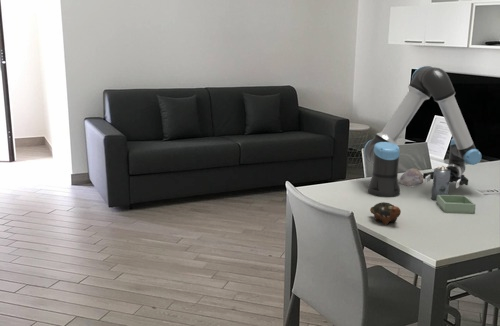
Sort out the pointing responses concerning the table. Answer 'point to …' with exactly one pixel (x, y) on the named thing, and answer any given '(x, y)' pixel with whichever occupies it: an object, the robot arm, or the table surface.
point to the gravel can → (440, 182)
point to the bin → (455, 204)
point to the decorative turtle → (385, 212)
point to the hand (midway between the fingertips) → (441, 182)
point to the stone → (411, 178)
